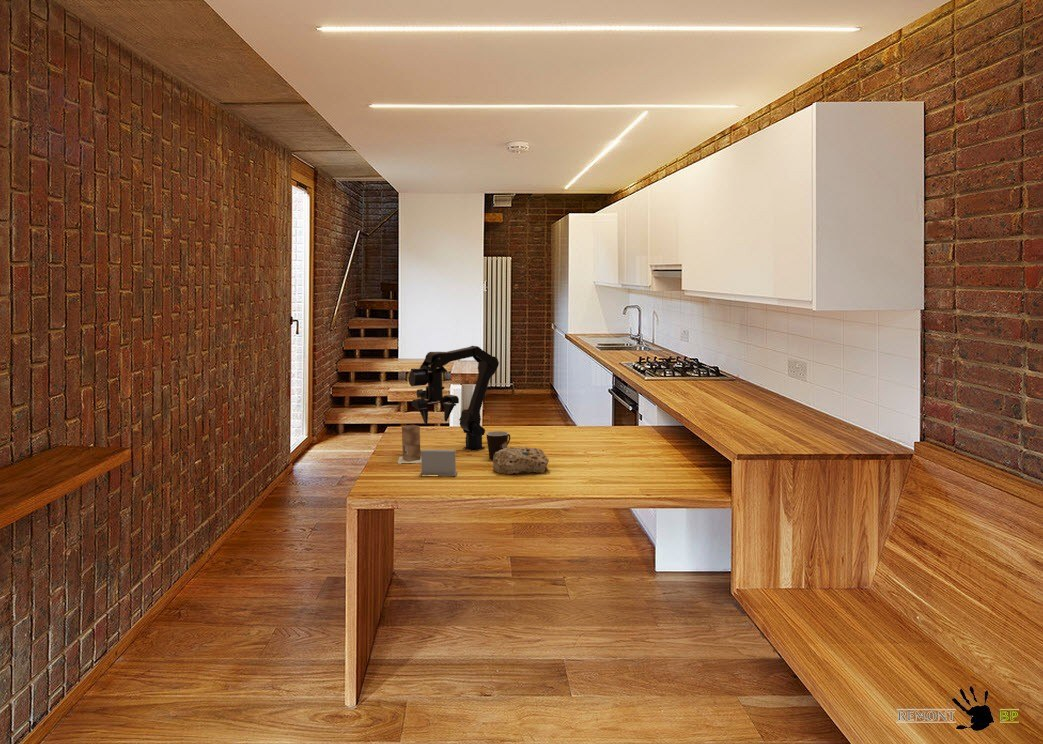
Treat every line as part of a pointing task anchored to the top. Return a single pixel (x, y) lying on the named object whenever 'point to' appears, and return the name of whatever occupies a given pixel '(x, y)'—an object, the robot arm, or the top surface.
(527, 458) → the rock
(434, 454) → the screen
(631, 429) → the top surface
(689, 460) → the top surface
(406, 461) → the mat
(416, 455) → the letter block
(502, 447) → the coffee mug
